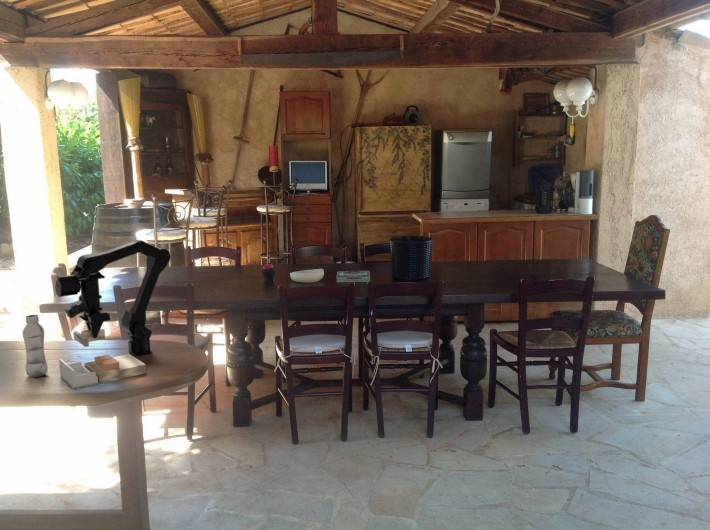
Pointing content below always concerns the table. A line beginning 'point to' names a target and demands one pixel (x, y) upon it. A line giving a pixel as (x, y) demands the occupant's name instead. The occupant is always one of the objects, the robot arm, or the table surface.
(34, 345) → the plastic bottle
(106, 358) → the tile
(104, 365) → the tile
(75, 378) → the box
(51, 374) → the table surface
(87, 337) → the scraper
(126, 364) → the board
